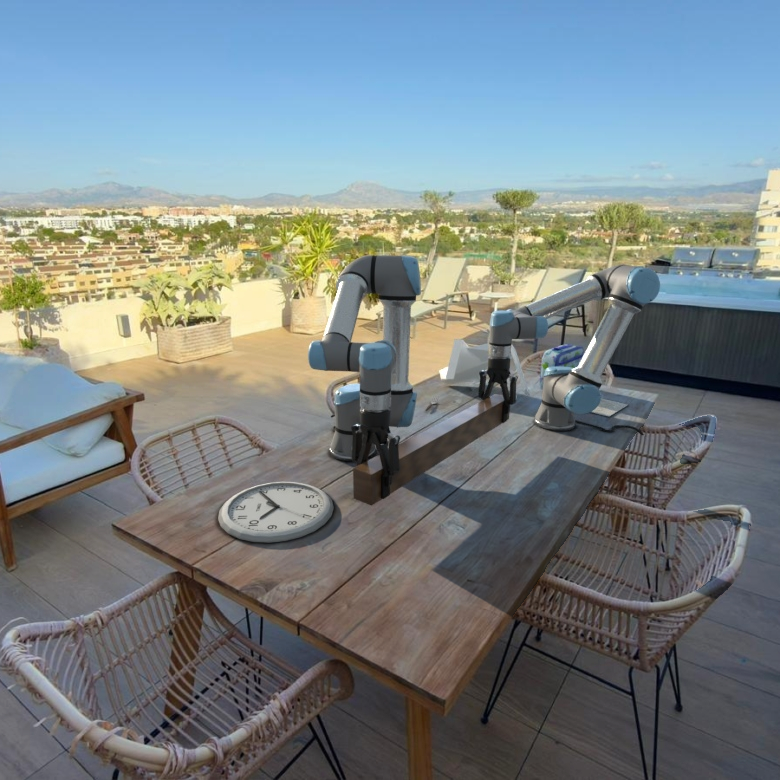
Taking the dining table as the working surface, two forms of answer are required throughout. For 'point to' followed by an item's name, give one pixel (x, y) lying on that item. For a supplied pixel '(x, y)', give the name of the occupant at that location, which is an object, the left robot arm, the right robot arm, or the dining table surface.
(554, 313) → the right robot arm
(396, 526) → the dining table surface
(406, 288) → the left robot arm
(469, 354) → the white plastic object
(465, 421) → the bar
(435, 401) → the fork
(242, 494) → the wall clock
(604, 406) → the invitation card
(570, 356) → the lunch box
